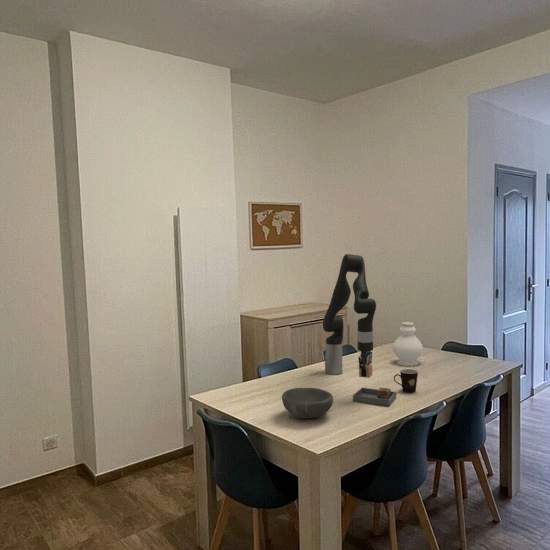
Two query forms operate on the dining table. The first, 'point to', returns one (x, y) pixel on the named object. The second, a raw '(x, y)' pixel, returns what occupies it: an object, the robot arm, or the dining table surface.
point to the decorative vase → (407, 345)
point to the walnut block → (384, 393)
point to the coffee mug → (408, 380)
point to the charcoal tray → (372, 397)
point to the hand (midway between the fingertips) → (365, 374)
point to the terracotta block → (367, 371)
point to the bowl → (307, 402)
